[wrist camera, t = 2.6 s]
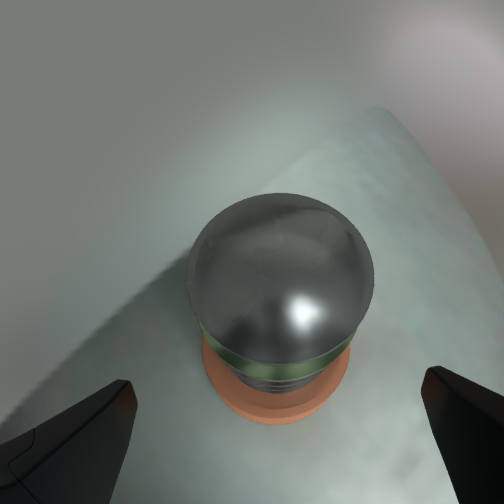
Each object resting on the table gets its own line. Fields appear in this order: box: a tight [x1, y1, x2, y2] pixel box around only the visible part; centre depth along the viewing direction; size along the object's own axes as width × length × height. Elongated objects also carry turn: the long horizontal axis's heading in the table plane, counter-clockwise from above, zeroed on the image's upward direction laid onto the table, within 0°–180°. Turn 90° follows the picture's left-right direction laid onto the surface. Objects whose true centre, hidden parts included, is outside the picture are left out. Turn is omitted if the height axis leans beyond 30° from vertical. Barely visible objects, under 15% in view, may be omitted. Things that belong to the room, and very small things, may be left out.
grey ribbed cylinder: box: [186, 193, 374, 394], centre depth 10 cm, size 5×5×8 cm
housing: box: [202, 336, 350, 425], centre depth 16 cm, size 8×8×5 cm
